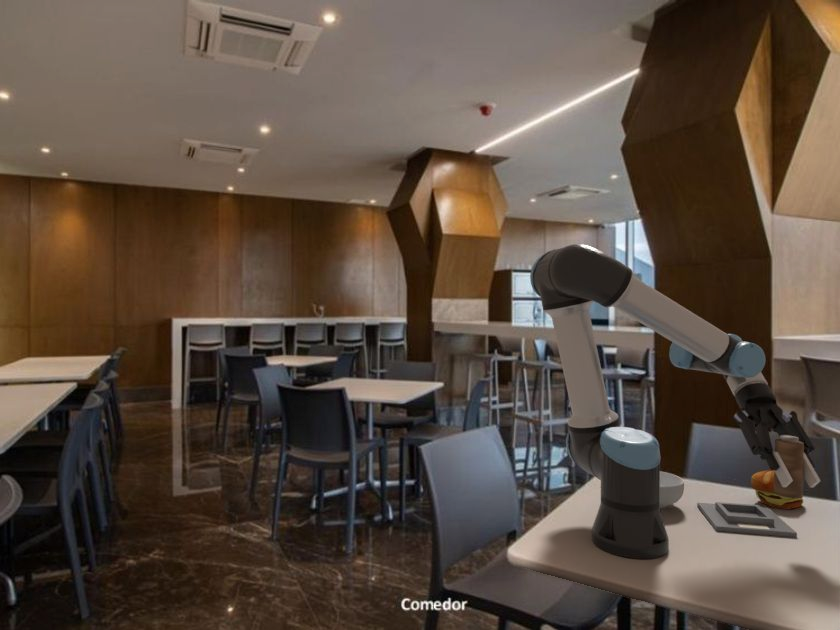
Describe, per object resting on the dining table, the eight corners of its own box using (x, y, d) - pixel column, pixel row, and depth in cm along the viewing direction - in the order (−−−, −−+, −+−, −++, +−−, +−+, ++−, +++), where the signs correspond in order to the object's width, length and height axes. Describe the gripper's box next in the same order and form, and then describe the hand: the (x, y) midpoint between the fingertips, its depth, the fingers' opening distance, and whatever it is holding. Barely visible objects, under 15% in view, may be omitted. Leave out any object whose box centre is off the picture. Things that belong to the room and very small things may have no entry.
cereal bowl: (672, 495, 148) (672, 469, 148) (693, 518, 131) (694, 488, 131) (606, 492, 150) (606, 466, 150) (619, 514, 134) (619, 485, 134)
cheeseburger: (814, 512, 135) (803, 472, 136) (767, 519, 137) (757, 480, 138) (794, 498, 145) (784, 460, 145) (751, 505, 147) (741, 468, 148)
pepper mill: (779, 497, 113) (780, 438, 113) (770, 489, 118) (771, 433, 118) (807, 499, 112) (808, 440, 112) (796, 491, 117) (797, 435, 117)
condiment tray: (716, 530, 124) (716, 519, 124) (697, 506, 139) (697, 496, 139) (796, 537, 120) (796, 525, 120) (768, 511, 136) (768, 501, 136)
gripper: (781, 401, 131) (834, 493, 114) (706, 400, 130) (749, 492, 114) (797, 381, 125) (855, 475, 109) (720, 380, 125) (766, 474, 108)
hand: (801, 483), depth 111 cm, fingers closed on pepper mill, 5 cm apart
